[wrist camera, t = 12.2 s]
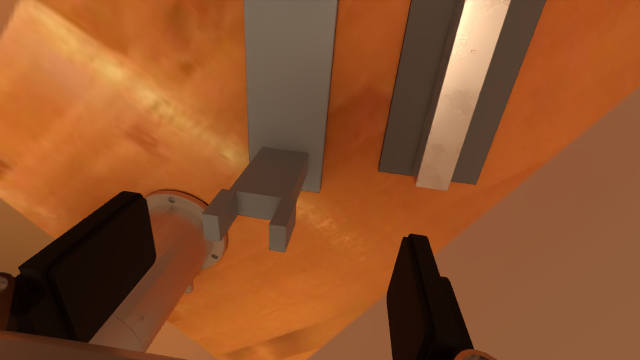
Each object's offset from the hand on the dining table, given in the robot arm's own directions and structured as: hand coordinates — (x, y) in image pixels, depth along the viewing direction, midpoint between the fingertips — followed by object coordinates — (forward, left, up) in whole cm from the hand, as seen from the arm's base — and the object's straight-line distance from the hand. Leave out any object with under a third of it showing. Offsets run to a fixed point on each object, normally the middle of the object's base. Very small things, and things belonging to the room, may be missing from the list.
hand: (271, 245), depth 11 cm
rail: (+5, -10, -22) cm, 24 cm away
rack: (+2, +5, -22) cm, 23 cm away
